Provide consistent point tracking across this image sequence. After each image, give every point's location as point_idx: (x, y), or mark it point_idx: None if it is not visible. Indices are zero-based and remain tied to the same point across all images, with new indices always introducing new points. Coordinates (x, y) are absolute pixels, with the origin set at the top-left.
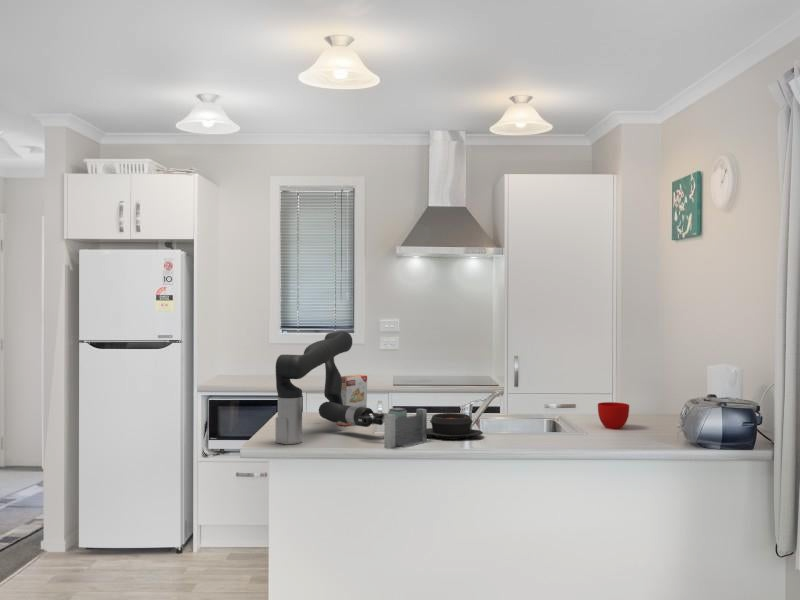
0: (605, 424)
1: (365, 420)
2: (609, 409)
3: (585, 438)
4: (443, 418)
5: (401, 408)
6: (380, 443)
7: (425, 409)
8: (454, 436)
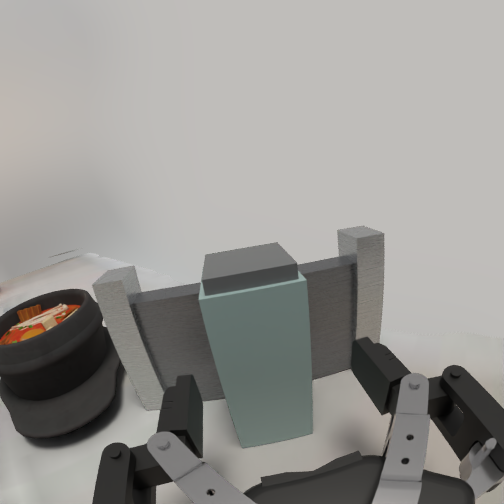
0: None
1: (466, 423)
2: None
3: (44, 286)
4: (85, 302)
5: (213, 261)
6: (359, 428)
7: (113, 269)
8: None
